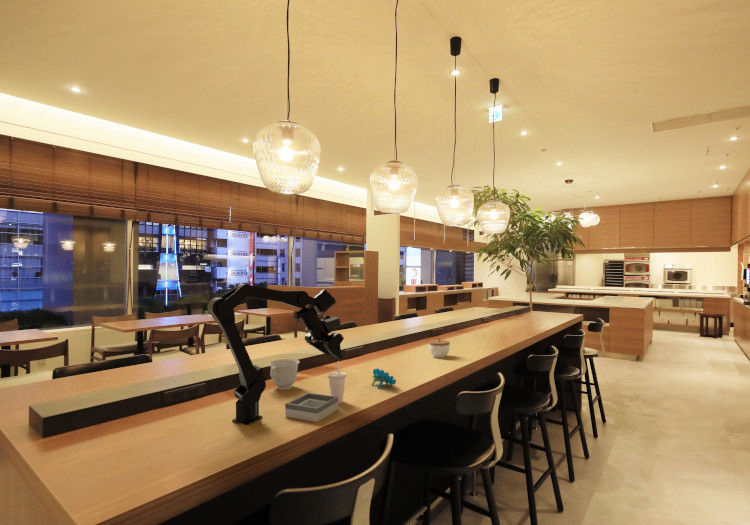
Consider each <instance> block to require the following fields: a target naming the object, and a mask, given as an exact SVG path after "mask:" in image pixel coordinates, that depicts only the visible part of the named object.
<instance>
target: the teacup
mask: <svg viewBox="0 0 750 525" xmlns="http://www.w3.org/2000/svg"><path fill="white" fill-rule="evenodd" d="M299 364H300V360H298V359H294V358H283V359H276V360H272V361H270V362H269V363H268V366H269V367H270V372H269V374H270V378H271V379H272V382H273V385H275V386H277V388H276V389H277V390H280V391H288V390H290V388H291V389H292V388H293V384H295V382H296V380H297V377H298V368H299Z"/></svg>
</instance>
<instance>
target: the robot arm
mask: <svg viewBox="0 0 750 525" xmlns="http://www.w3.org/2000/svg"><path fill="white" fill-rule="evenodd" d="M247 298H253V299H258V300H265V301H271V302H279V303H280V304H284V305H286V306H288V307H292V308H295V309H296V308H298V309H299V310H293V315H292V319H293V320H299V319H300V320H301V322H302V323H303V325H304V326H305V328H304V330H305V331H306V332H308V333H307V334H305V336H304V340H305V343H307V344H309V345H310V346H311V347H312V348H313V347H314V349H316V350H318V351H320V352H321V353H323V354H325V355H326V356H330V354H331V355H332V356H334V357H335V358H337V359H338V360H340V361H342V360H343V353H342V349H341V344H342V342H343V341H344V339H345V338H344V336H343V335H342V333H339V332H333V330H335V329H336V328H341V327H342V323H341V318H340V317H338V316H330V314H329V315H328V314H326V315H323V318H322V319H321V316H320V315H319V314H325V313H327V311H329V310H330V309H331V308H332V307H334V306H335V305H336V304H337V303H336V302H337V301H336V299H335V297H334V296H333V295H332V294H331V293H329V291H328V290H327V289H321V290H320V291H319V292H318V293H317V294H316V295H315V296H311V295H309V293H308V292H307V291H305V290H297V289H296V290H278V289H272V288H268V287H260V286H255V285H254V286H252V285H250V284H248V283H247V284H246V283H241V284H238V285H237V286H236V287H234V288H233V289H231V290H229V291H228V292H225V293H224V294H223V295H221V296H220V297H213V298H212V299H210V300H209V302H208V304H207V308H206V309H207V311H208V314H209V315H210V316H211V317H212V319H213V320H214V321H215V323H216V324H217V325H218V326H219V328H220V330H221V331H222V333H223V335H224V339H225V341H226V342H227V345H228V348H229V349H230V353H231V354H232V356H233V359H234V361H235V363H236V366H237V368H238V376H239V382H240V384H239V385H238V386H237V387H236V388H235V389H234V391H233V396H234V397H235V399H237V401H235V418H233V419H232V420H231V422H233V423H236V424H241V425H250V424H252V423H255V422H257V421H258V420H260V419H263V415H259V414H260V404H259V403H260V400H261V396H262V394H263V393H264V391H265V389H266V387H267V382H266V381H267V378H266V376H265V374H264V372H263V368H262V367H260V366H257V364H253V362H252V359H251V358H250V355H249V353H248V351H247V348H246V346H245V343H244V341H243V338H242V336H241V334H240V332H239V330H238V326H237V324H236V313H235V308H236V307H238V306H239V305H240V304H241V303H242V302H244V300H245V299H247ZM330 333H331V334H330Z"/></svg>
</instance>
